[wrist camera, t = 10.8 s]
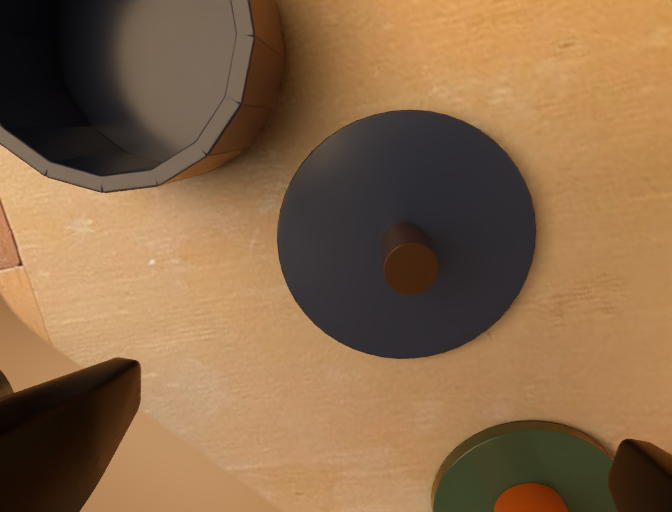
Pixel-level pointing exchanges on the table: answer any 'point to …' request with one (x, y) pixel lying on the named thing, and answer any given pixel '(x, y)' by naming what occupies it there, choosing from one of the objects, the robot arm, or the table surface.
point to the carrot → (530, 499)
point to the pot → (136, 86)
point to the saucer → (524, 468)
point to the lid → (406, 234)
